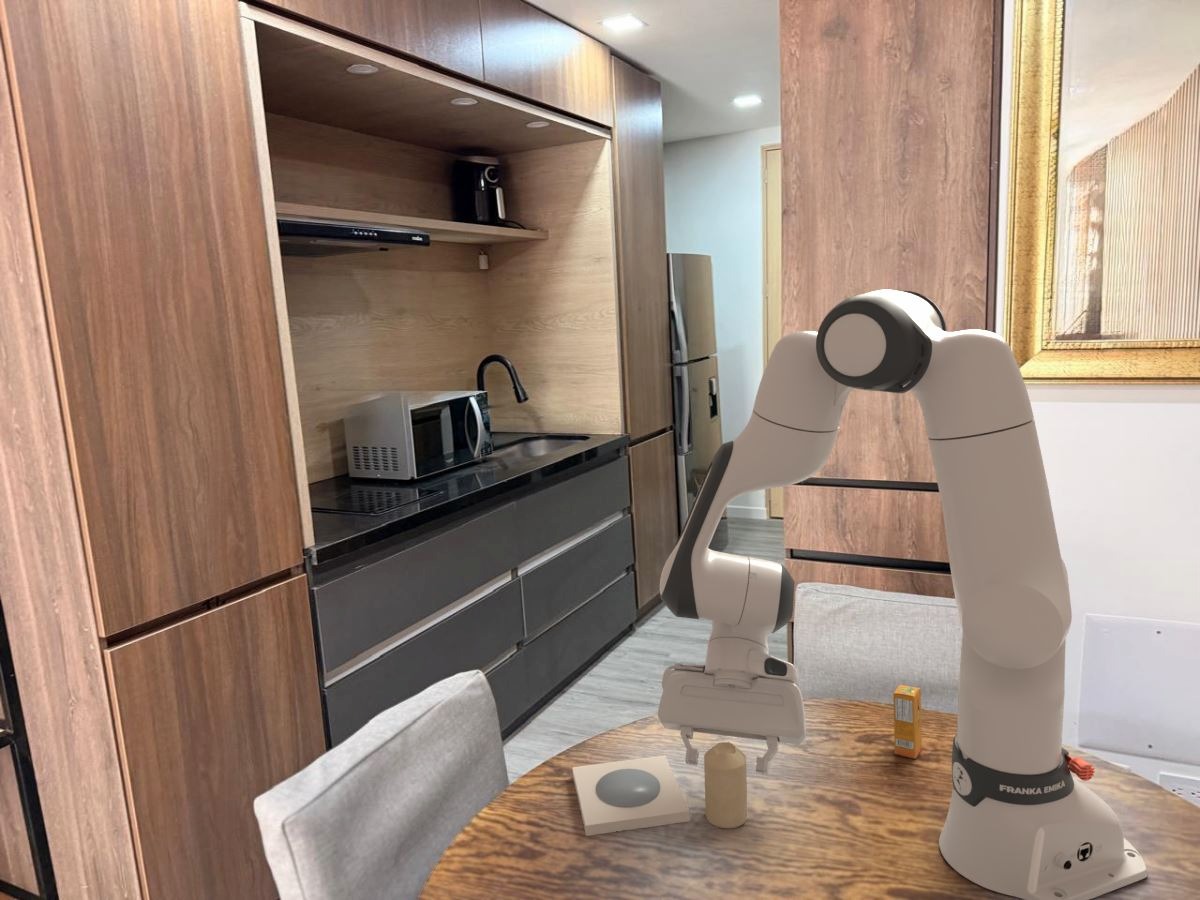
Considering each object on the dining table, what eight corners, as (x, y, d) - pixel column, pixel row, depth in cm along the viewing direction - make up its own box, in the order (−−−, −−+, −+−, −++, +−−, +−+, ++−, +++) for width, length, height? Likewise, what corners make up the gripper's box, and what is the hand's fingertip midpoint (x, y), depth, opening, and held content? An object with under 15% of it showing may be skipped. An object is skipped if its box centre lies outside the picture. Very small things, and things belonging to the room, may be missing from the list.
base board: (665, 764, 121) (665, 754, 121) (690, 821, 108) (689, 809, 107) (573, 776, 119) (572, 765, 119) (585, 836, 106) (585, 824, 105)
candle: (746, 830, 105) (745, 760, 104) (704, 827, 106) (702, 757, 105) (747, 805, 111) (746, 737, 109) (707, 802, 112) (705, 735, 110)
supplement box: (898, 743, 124) (899, 682, 122) (921, 750, 122) (923, 688, 120) (891, 753, 121) (893, 691, 120) (915, 760, 119) (917, 697, 118)
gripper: (661, 653, 117) (646, 752, 109) (807, 667, 110) (802, 772, 103) (668, 669, 122) (655, 764, 114) (809, 683, 115) (804, 784, 108)
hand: (726, 768), depth 108 cm, fingers open, 8 cm apart
